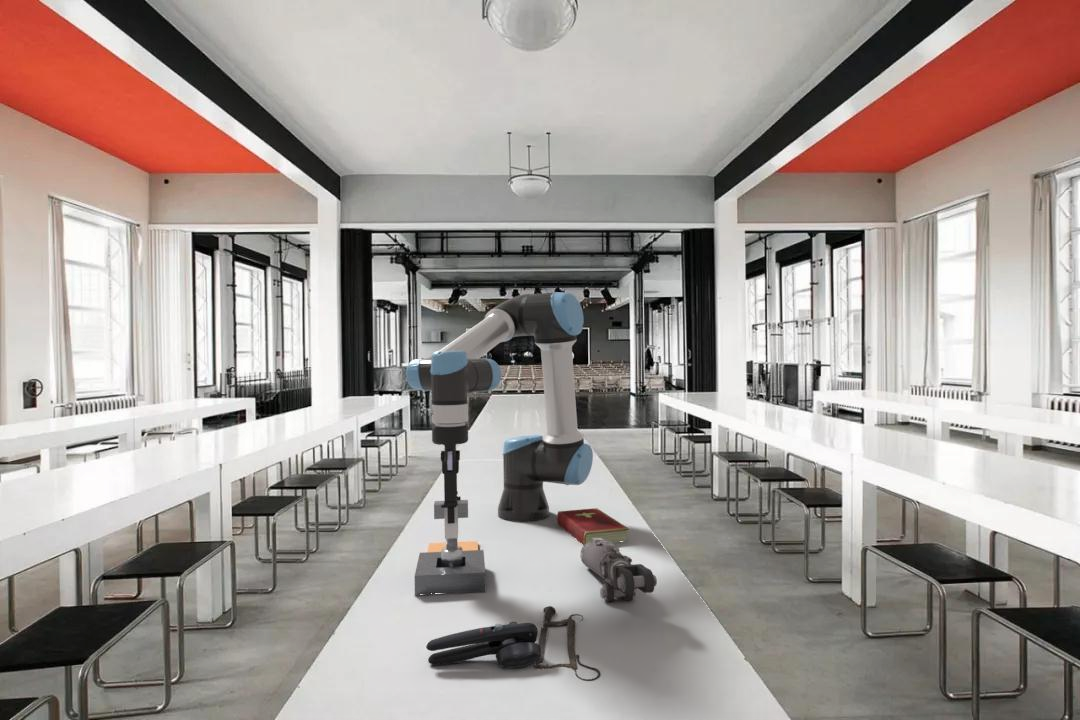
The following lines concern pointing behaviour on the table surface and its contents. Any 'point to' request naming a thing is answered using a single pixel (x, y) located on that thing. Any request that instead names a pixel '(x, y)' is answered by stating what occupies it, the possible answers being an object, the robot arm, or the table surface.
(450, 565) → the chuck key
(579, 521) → the hardcover book
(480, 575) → the block
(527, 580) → the table surface
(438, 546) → the key mat
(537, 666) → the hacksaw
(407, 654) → the table surface
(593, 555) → the hydraulic cylinder
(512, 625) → the can opener
